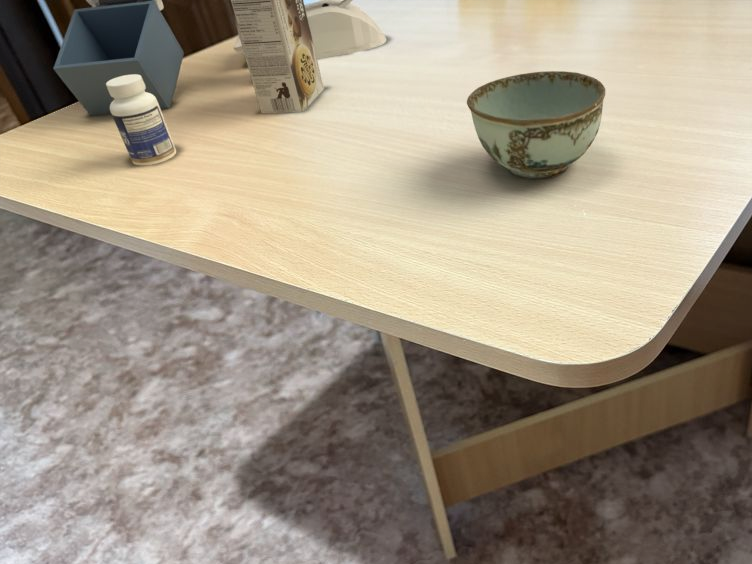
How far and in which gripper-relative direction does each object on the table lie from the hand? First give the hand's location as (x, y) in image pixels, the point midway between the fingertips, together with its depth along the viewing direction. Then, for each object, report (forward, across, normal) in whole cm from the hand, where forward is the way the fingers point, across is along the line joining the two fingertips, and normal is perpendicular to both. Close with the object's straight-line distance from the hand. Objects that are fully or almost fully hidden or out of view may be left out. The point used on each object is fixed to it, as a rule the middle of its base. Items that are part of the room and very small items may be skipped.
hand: (130, 13), depth 102 cm
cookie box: (+11, +25, -13) cm, 30 cm away
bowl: (+11, +58, -41) cm, 72 cm away
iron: (+11, +23, +12) cm, 28 cm away
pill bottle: (+11, +11, -29) cm, 33 cm away
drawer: (+8, 0, -4) cm, 9 cm away
